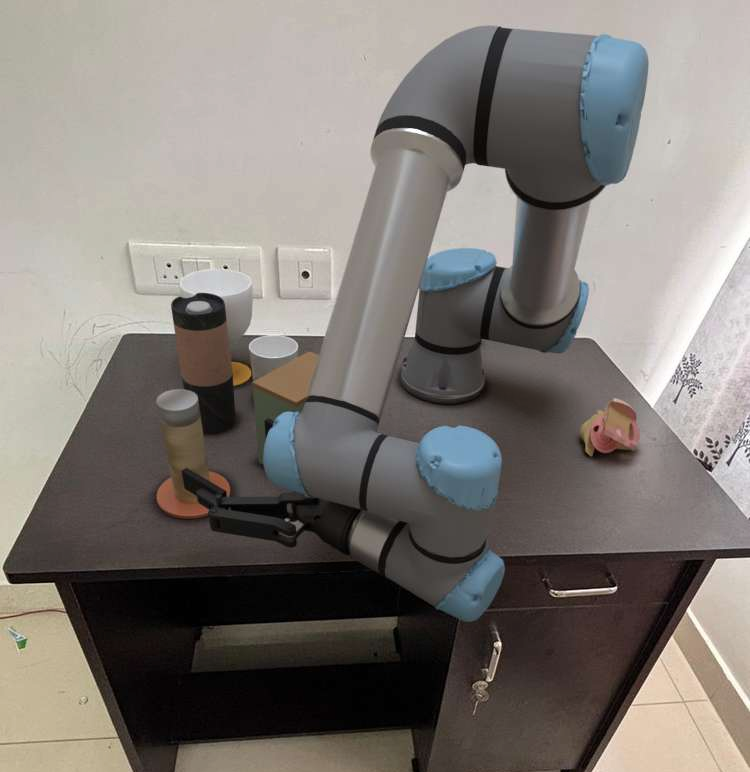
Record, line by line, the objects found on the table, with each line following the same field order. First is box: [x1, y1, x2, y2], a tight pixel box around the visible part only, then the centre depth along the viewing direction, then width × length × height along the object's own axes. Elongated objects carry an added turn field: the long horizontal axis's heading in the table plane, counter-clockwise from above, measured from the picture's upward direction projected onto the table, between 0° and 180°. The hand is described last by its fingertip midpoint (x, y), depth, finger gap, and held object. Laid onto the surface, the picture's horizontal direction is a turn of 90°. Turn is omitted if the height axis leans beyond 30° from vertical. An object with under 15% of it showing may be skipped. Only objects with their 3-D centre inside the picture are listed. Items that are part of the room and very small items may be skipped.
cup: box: [178, 268, 254, 387], centre depth 109 cm, size 12×12×17 cm
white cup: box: [248, 334, 299, 382], centre depth 106 cm, size 8×8×10 cm
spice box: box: [251, 351, 319, 466], centre depth 93 cm, size 8×12×14 cm, turn 144°
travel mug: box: [170, 293, 236, 434], centre depth 96 cm, size 8×8×20 cm
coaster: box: [156, 470, 231, 520], centre depth 88 cm, size 10×10×1 cm
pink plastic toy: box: [579, 397, 640, 457], centre depth 101 cm, size 9×10×10 cm
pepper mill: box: [156, 388, 210, 503], centre depth 83 cm, size 14×5×14 cm
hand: (228, 451), depth 78 cm, fingers open, 13 cm apart
